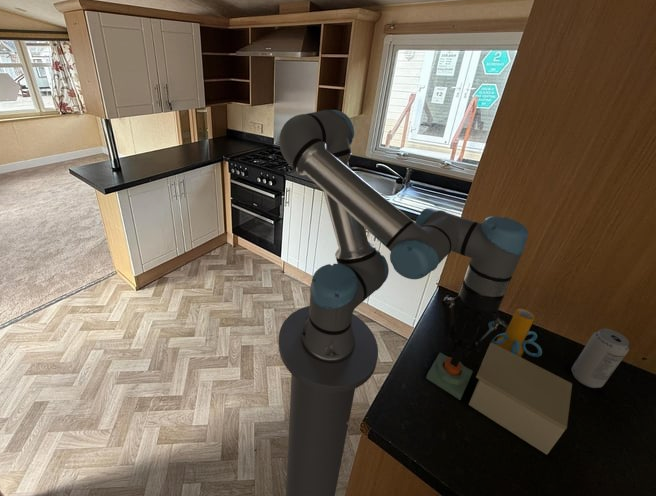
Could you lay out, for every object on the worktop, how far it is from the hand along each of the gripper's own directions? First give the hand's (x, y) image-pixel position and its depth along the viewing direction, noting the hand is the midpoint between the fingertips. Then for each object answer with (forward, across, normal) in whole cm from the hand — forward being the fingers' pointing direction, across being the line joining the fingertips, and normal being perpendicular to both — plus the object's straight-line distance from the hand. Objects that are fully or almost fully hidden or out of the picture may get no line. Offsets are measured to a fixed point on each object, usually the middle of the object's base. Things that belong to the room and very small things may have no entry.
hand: (455, 361), depth 77 cm
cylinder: (+6, -9, -18) cm, 21 cm away
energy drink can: (+6, -25, -24) cm, 35 cm away
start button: (+3, 0, 0) cm, 3 cm away
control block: (+6, 0, 0) cm, 6 cm away
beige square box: (+6, -13, -2) cm, 14 cm away
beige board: (-3, -13, -2) cm, 13 cm away
